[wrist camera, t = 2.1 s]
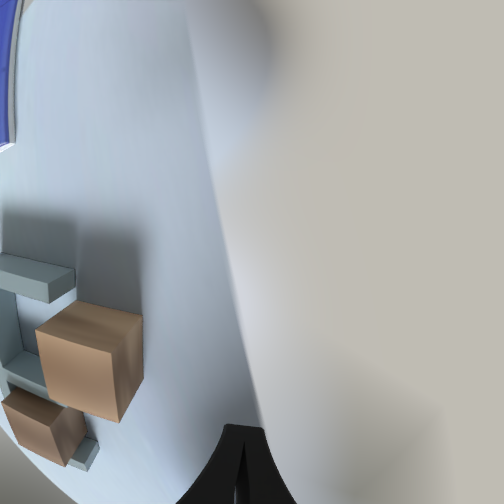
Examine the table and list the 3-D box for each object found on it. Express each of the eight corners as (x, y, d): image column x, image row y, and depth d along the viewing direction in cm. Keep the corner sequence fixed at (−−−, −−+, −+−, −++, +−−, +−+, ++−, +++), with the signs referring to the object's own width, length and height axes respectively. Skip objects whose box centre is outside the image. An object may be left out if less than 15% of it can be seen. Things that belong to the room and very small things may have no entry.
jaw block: (144, 377, 16) (119, 423, 12) (82, 361, 16) (49, 398, 12) (143, 314, 15) (111, 353, 11) (76, 299, 15) (35, 329, 11)
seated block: (88, 430, 17) (65, 467, 13) (44, 413, 17) (18, 444, 13) (78, 389, 16) (49, 427, 12) (32, 371, 16) (1, 402, 12)
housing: (99, 449, 17) (87, 472, 15) (36, 423, 17) (21, 441, 15) (74, 269, 14) (47, 283, 12) (1, 252, 14) (-26, 262, 12)
